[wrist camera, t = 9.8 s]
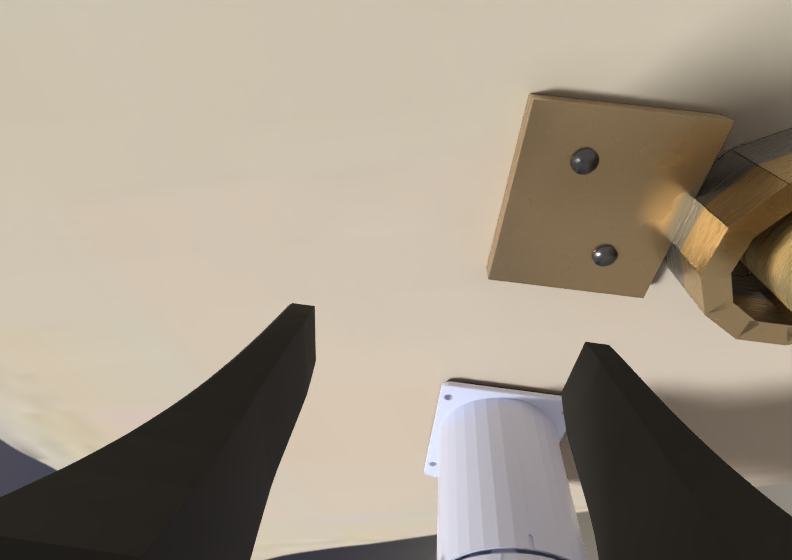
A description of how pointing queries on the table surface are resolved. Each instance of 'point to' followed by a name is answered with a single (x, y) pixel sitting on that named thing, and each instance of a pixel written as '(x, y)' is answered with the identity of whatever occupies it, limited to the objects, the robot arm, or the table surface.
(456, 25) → the table surface
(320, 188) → the table surface
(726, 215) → the hinge
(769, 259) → the hinge pin
